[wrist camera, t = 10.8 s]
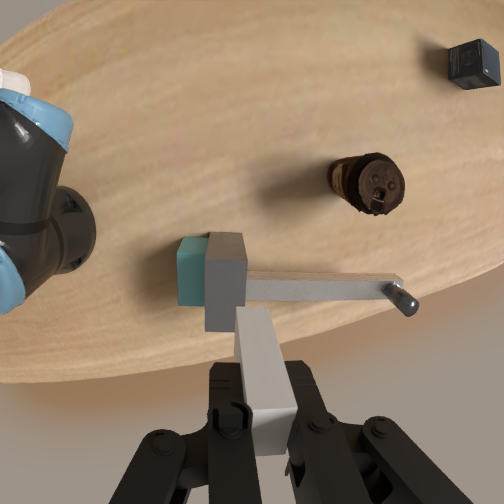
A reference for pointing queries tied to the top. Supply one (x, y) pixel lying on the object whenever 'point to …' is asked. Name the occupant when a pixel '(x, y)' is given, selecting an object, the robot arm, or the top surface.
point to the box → (474, 65)
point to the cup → (14, 82)
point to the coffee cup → (368, 182)
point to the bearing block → (224, 280)
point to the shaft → (329, 288)
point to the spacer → (191, 271)
